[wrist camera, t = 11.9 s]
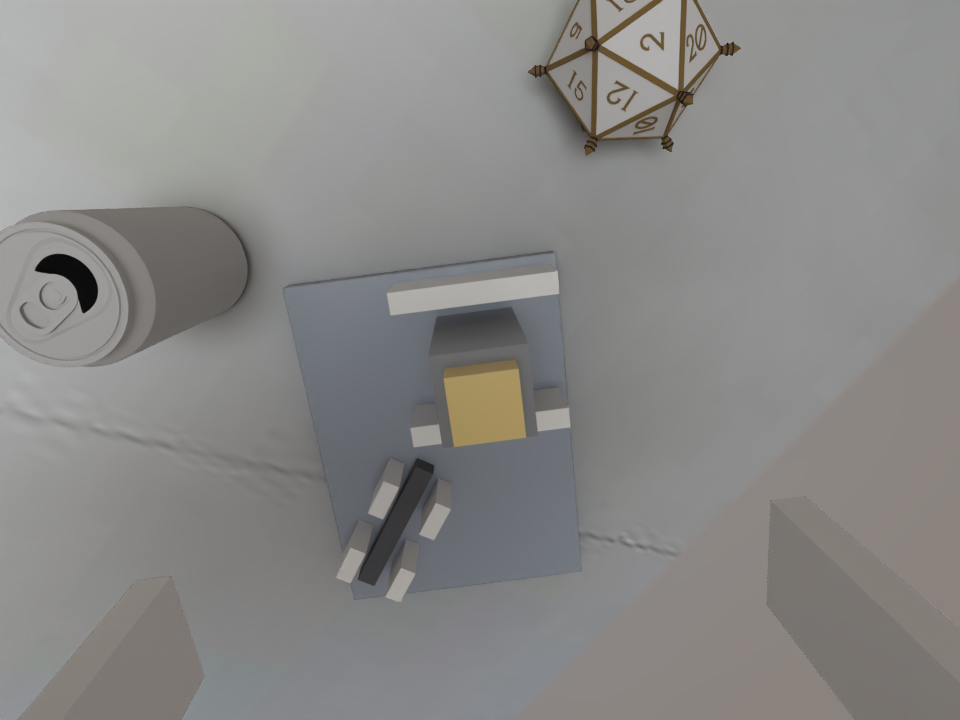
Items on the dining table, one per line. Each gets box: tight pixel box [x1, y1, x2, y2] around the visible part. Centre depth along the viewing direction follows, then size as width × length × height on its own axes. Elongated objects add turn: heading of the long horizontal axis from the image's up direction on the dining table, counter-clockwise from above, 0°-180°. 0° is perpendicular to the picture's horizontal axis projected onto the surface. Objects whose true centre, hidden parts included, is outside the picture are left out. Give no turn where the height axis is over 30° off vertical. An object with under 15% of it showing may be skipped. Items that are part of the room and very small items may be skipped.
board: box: [283, 251, 582, 603], centre depth 34 cm, size 16×22×4 cm
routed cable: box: [358, 458, 434, 586], centre depth 36 cm, size 9×1×1 cm, turn 153°
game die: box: [528, 0, 741, 156], centre depth 26 cm, size 9×8×10 cm
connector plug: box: [428, 307, 538, 448], centre depth 28 cm, size 4×4×10 cm
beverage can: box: [0, 207, 248, 367], centre depth 26 cm, size 6×6×12 cm
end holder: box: [387, 264, 571, 447], centre depth 31 cm, size 9×9×4 cm
